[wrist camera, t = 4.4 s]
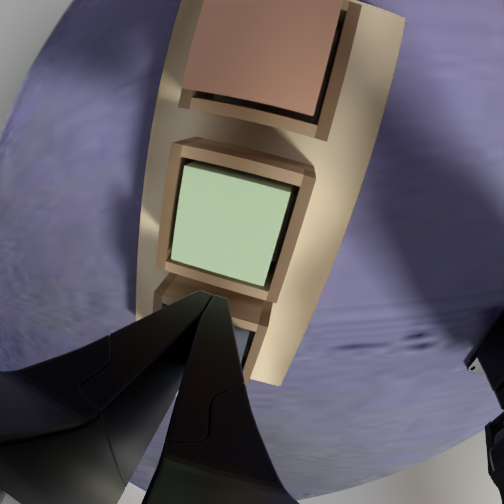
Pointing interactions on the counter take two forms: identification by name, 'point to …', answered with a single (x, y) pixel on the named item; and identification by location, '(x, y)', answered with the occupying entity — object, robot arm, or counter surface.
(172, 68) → the beige wooden block tray
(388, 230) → the counter surface
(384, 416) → the counter surface
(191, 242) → the sage key
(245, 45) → the terracotta key
